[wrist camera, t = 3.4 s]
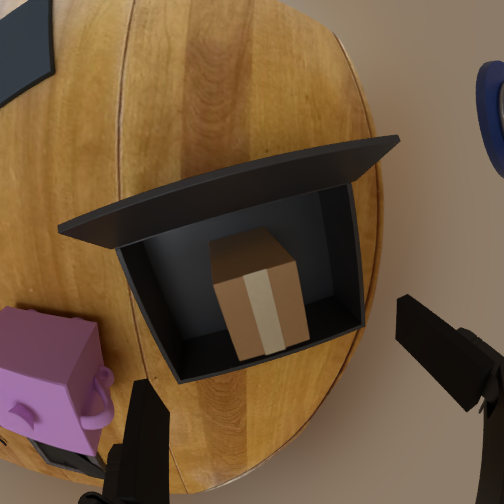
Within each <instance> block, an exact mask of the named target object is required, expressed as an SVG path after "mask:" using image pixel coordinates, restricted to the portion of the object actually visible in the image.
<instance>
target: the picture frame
mask: <svg viewBox="0 0 504 504" xmlns="http://www.w3.org/2000/svg"><path fill="white" fill-rule="evenodd" d="M27 438H28V437H27ZM28 440H29V441H30V442H31V444H32V445H33V447H34V448H35V449H36V451H37V452H38V453H39V454H40V456H41V457H42V458H43V460H44V461H45V462H46V463H47V464H49V465H52V466H56V467H59V468H63V469H66V470H70V471H74V472H78V473H83V474H86V475H87V476H91V477H95V478H99V479H104V477H105V472H106V466H105V464H104V462H103V461H102V459H101V457H100V456H99V454H98V452H97V453H96V456H95V457H94V456H89V455H84V454H80V453H76V452H72V451H68V450H65V449H61V448H58V447H55V446H51V445H48V444H45V443H42V442H39V441H36V440H33V439H31V438H28Z"/></svg>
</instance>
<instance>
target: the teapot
mask: <svg viewBox="0 0 504 504" xmlns="http://www.w3.org/2000/svg"><path fill="white" fill-rule="evenodd" d="M113 382H114V374H113V372H112V371H111V369H109V368H108V367H105V366H104V362H103V356H102V351H101V345H100V339H99V332H98V326H97V322H91V321H85V320H84V319H82V318H80V317H73V318H72V319H71V318H65V317H59V316H54V315H48V314H43V313H38V312H37V311H35V310H33V309H29V310H22V309H18V308H13V307H8V306H6V307H5V308H4V309H3V310H2V311H1V312H0V425H1V426H2V427H4V428H6V429H8V430H10V431H13V432H15V433H18V434H20V435H23V436H25V437H28V438H31V439H33V440H36V441H39V442H42V443H45V444H48V445H51V446H55V447H58V448H61V449H65V450H68V451H72V452H76V453H80V454H84V455H89V456H94V457H95V456H96V453H97V448H98V444H99V439H100V435H101V431H102V428H103V427H105V426H107V425H108V424H109V423H110V422H111V421H112V419H113V417H114V405H113V402H112V399H111V397H110V396H111V394H110V390H109V387H110V386H111V385H112V384H113Z"/></svg>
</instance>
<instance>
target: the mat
mask: <svg viewBox="0 0 504 504" xmlns="http://www.w3.org/2000/svg"><path fill="white" fill-rule="evenodd" d="M53 74H55V68H54V56H53V41H52V0H28V1H27V2H25V3H24V4H22V5H21V6H19V7H18V8H16V9H15V10H13V11H12V12H11V13H9V14H8V15H6V16H5V17H4V18H2V19H1V20H0V108H1V107H3V106H4V105H5V104H7V103H8V102H10V101H11V100H12V99H14V98H15V97H17V96H18V95H20V94H21V93H23V92H24V91H26V90H28V89H29V88H31V87H32V86H34V85H36V84H37V83H39V82H41V81H42V80H44V79H46V78H47V77H49V76H51V75H53Z"/></svg>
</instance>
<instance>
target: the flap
mask: <svg viewBox="0 0 504 504" xmlns="http://www.w3.org/2000/svg"><path fill="white" fill-rule="evenodd" d="M399 142H400V139H399V136H398V135H390V136H382V137H375V138H367V139H361V140H354V141H348V142H342V143H336V144H330V145H325V146H319V147H314V148H309V149H304V150H299V151H294V152H289V153H284V154H280V155H275V156H271V157H266V158H262V159H258V160H254V161H250V162H246V163H242V164H238V165H234V166H230V167H226V168H222V169H219V170H215V171H211V172H208V173H204V174H201V175H197V176H194V177H191V178H187V179H184V180H181V181H177V182H174V183H171V184H168V185H165V186H161V187H158V188H155V189H152V190H149V191H146V192H143V193H140V194H137V195H135V196H132V197H129V198H126V199H123V200H121V201H118V202H115V203H112V204H110V205H107V206H104V207H102V208H99V209H96V210H94V211H91V212H89V213H86V214H84V215H81V216H79V217H76V218H74V219H72V220H69V221H67V222H64V223H62V224H60V225H58V233H59V234H62V235H66V236H69V237H72V238H75V239H78V240H82V241H85V242H88V243H92V244H95V245H98V246H102V247H105V248H108V249H114V248H117V247H120V246H123V245H126V244H129V243H132V242H135V241H138V240H142V239H145V238H148V237H151V236H154V235H157V234H160V233H164V232H167V231H170V230H173V229H177V228H180V227H183V226H187V225H190V224H193V223H197V222H200V221H203V220H207V219H210V218H214V217H217V216H221V215H224V214H228V213H231V212H235V211H239V210H242V209H246V208H249V207H253V206H257V205H261V204H264V203H268V202H272V201H276V200H280V199H283V198H287V197H291V196H295V195H299V194H303V193H307V192H311V191H315V190H319V189H323V188H328V187H332V186H336V185H340V184H345V183H349V182H353V181H356V180H357V179H358V178H359V177H361V176H362V175H363V174H364V173H365V172H366V171H367V170H369V169H370V168H371V167H372V166H373V165H374V164H375V163H377V162H378V161H379V160H380V159H381V158H382V157H383V156H384V155H385V154H386V153H388V152H389V151H390V150H391V149H392V148H393V147H395V146H396V145H397V144H398V143H399Z"/></svg>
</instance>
